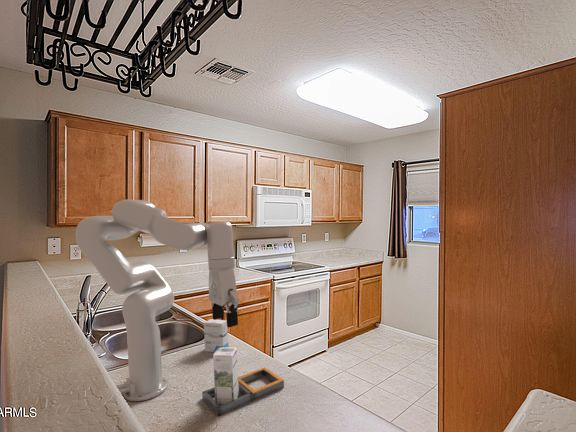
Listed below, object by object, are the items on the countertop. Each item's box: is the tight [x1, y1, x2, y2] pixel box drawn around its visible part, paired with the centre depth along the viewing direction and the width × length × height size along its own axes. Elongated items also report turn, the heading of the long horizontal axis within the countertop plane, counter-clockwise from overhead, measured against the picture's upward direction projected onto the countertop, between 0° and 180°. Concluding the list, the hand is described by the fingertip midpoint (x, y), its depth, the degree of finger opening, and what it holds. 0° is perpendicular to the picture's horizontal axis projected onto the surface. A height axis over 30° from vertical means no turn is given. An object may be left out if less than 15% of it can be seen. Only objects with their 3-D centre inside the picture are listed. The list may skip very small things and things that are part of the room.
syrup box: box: [212, 346, 240, 406], centre depth 93 cm, size 6×6×14 cm
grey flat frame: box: [201, 367, 285, 417], centre depth 96 cm, size 22×11×2 cm, turn 126°
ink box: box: [203, 318, 229, 353], centre depth 129 cm, size 8×5×12 cm, turn 71°
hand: (225, 322), depth 93 cm, fingers open, 9 cm apart
